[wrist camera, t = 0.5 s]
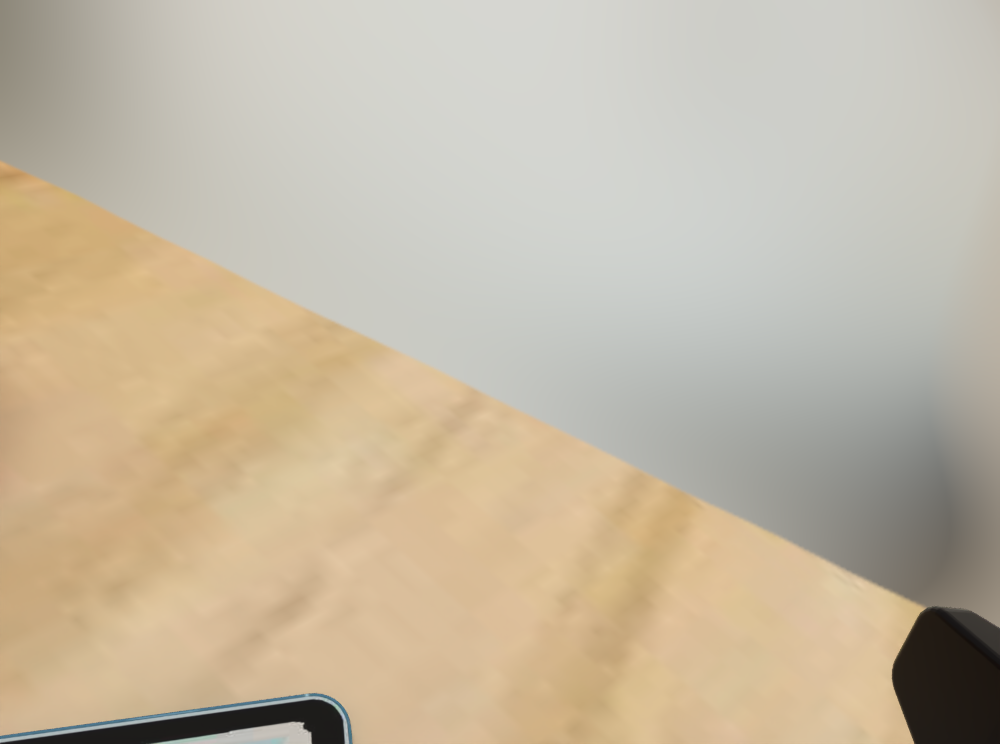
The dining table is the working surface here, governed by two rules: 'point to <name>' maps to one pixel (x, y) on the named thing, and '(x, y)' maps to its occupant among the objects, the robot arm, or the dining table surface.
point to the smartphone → (215, 725)
